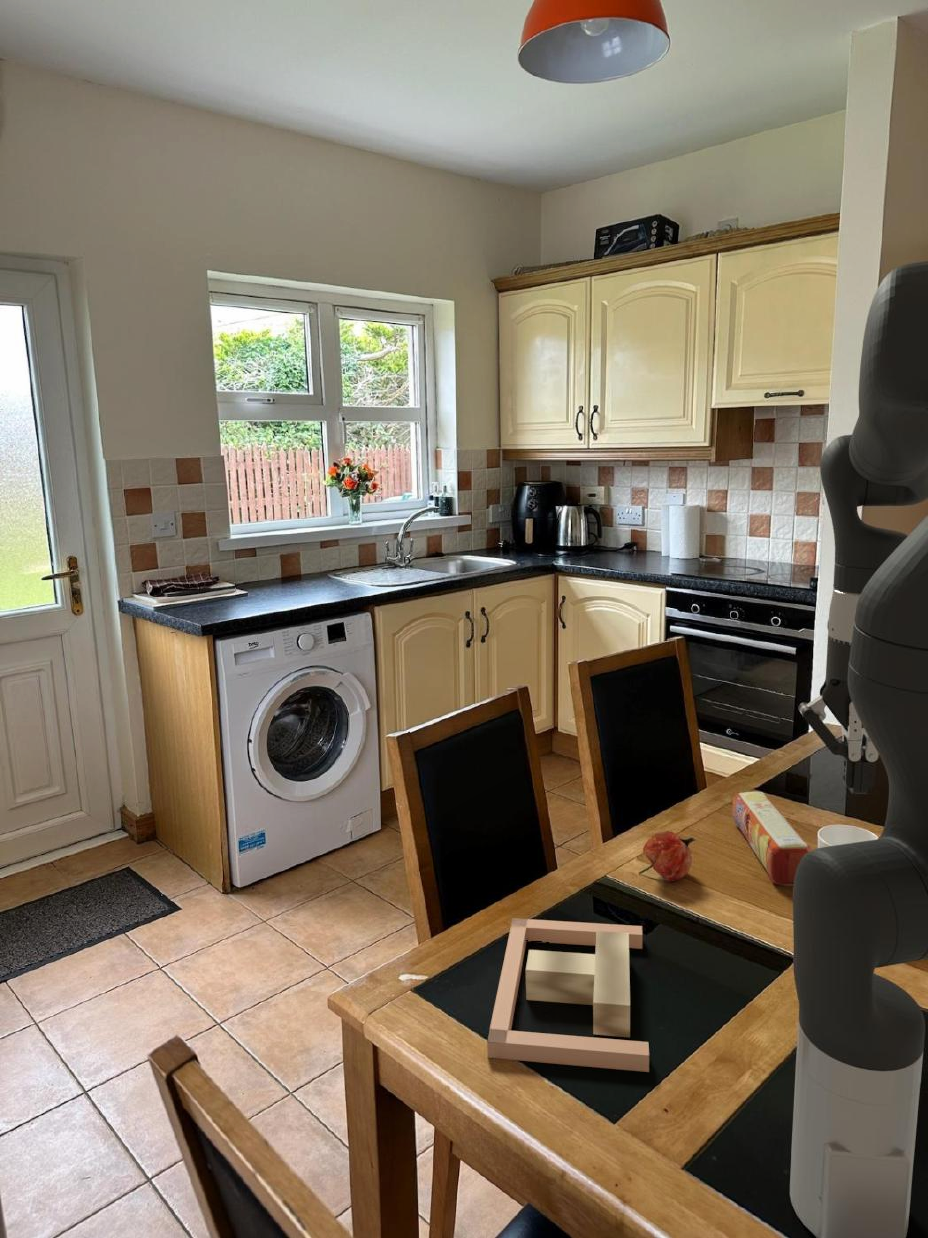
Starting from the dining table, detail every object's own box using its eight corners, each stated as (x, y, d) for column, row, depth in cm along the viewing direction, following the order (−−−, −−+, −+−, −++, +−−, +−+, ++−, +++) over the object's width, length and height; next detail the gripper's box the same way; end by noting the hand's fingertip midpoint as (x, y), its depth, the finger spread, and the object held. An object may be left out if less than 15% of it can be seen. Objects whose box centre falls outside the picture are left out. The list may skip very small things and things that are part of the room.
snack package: (729, 824, 145) (730, 786, 143) (768, 823, 144) (770, 785, 143) (769, 889, 124) (771, 846, 122) (815, 888, 124) (818, 845, 122)
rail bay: (649, 1072, 89) (649, 1055, 89) (487, 1057, 92) (487, 1041, 92) (641, 940, 112) (641, 926, 112) (513, 931, 115) (512, 918, 115)
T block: (628, 961, 108) (628, 933, 107) (630, 1037, 95) (630, 1005, 94) (533, 954, 110) (532, 926, 109) (521, 1028, 97) (520, 997, 96)
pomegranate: (647, 903, 125) (705, 871, 122) (618, 859, 126) (674, 827, 123) (657, 883, 132) (711, 853, 128) (629, 842, 133) (682, 811, 129)
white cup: (882, 921, 115) (887, 852, 112) (820, 917, 116) (824, 849, 114) (867, 891, 122) (872, 826, 120) (809, 887, 124) (812, 823, 122)
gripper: (807, 641, 85) (799, 803, 89) (951, 642, 83) (937, 808, 87) (792, 624, 92) (785, 775, 96) (924, 624, 90) (912, 779, 94)
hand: (857, 790), depth 91 cm, fingers closed
